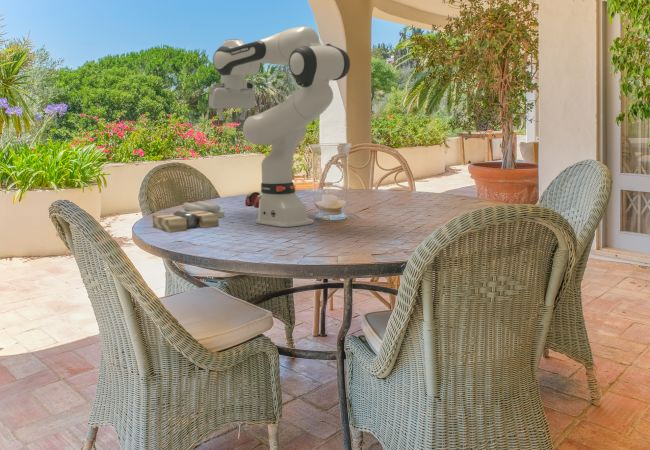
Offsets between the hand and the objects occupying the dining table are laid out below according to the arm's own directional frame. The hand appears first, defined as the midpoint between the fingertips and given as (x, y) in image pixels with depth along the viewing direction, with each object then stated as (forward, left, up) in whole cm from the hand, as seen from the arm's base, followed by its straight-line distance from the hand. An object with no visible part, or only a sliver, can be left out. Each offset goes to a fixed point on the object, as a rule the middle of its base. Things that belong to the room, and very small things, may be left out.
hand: (232, 120), depth 221 cm
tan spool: (-11, +27, -37) cm, 47 cm away
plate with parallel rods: (+6, +13, -37) cm, 40 cm away
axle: (-11, +27, -38) cm, 47 cm away
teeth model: (+16, -19, -38) cm, 45 cm away
